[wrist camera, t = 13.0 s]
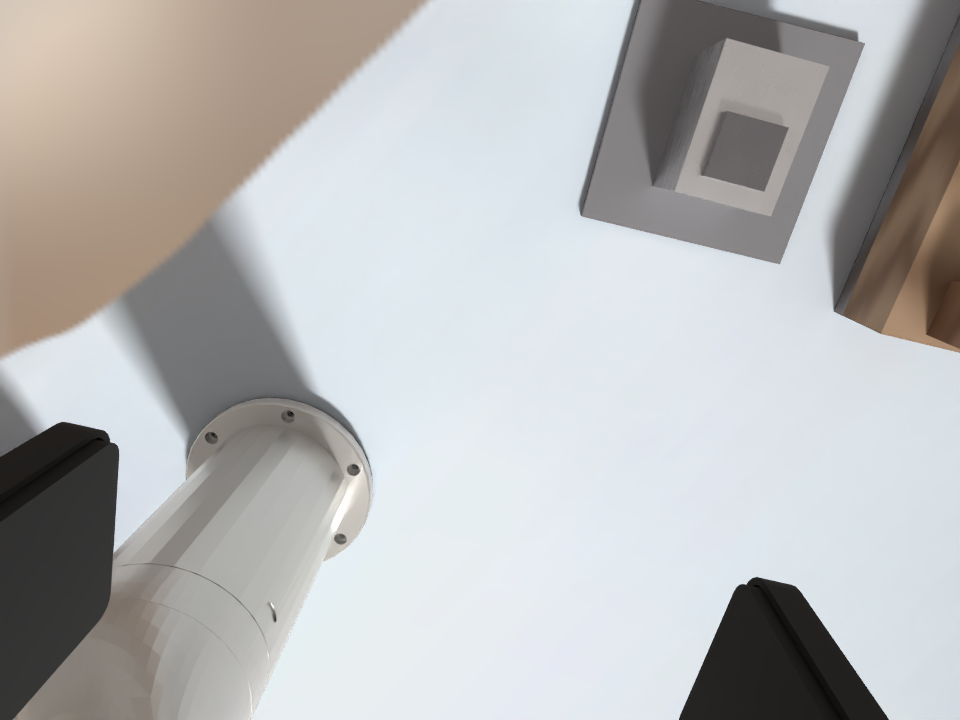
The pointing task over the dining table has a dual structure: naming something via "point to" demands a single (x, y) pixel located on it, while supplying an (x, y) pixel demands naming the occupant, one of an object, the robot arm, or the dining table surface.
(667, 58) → the rubber mat
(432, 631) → the dining table surface
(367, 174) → the dining table surface
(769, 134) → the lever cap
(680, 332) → the dining table surface
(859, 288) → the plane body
